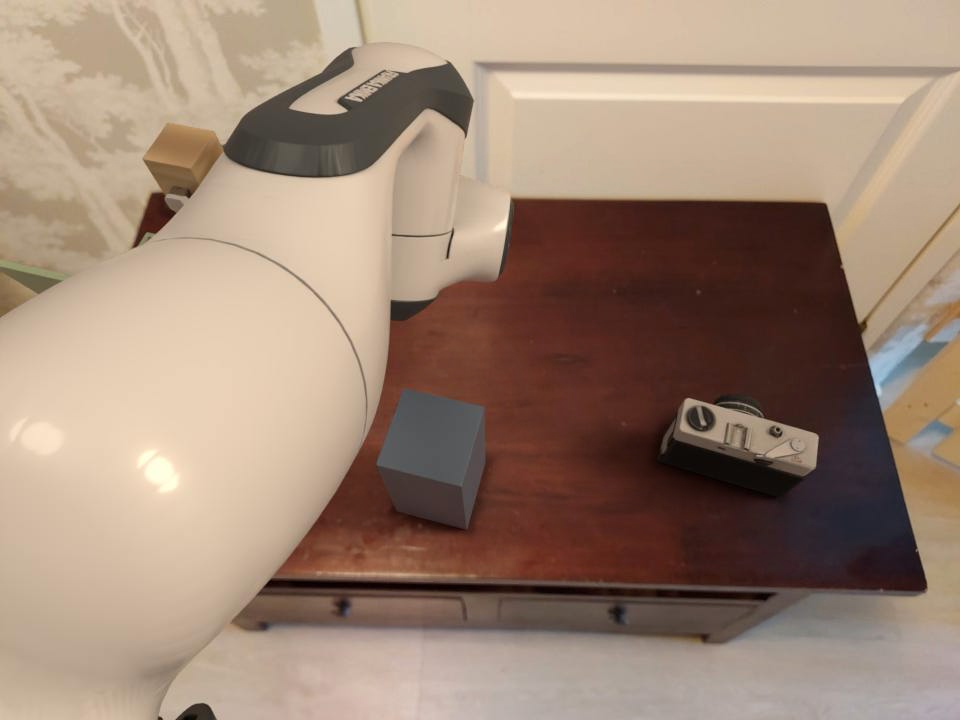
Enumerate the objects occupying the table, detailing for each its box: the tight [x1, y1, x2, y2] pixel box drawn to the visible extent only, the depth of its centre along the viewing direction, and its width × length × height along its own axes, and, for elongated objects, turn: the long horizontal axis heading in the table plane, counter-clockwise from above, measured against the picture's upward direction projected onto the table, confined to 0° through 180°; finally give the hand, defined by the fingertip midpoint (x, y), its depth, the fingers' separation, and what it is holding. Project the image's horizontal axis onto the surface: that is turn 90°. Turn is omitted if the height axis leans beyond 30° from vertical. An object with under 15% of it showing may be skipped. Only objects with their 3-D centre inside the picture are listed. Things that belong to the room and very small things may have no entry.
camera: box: [657, 393, 820, 499], centre depth 70 cm, size 14×9×10 cm, turn 64°
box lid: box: [0, 258, 72, 295], centre depth 65 cm, size 14×12×1 cm
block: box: [142, 122, 223, 214], centre depth 59 cm, size 4×4×8 cm
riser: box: [375, 387, 487, 531], centre depth 66 cm, size 8×8×15 cm
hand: (186, 174), depth 58 cm, fingers closed on block, 4 cm apart
